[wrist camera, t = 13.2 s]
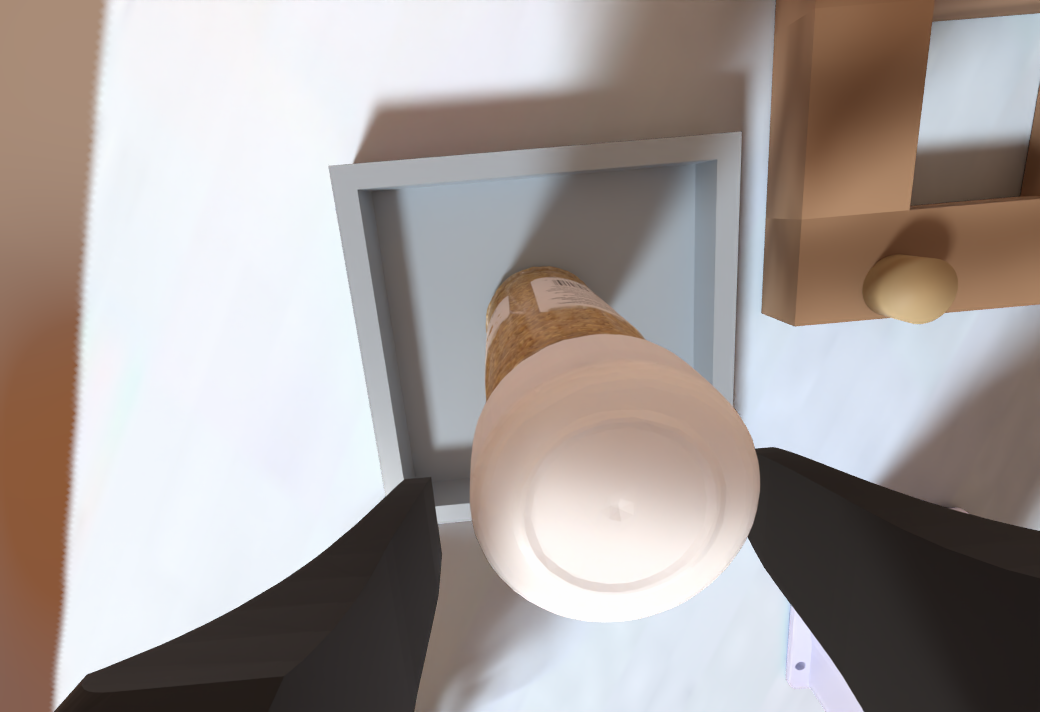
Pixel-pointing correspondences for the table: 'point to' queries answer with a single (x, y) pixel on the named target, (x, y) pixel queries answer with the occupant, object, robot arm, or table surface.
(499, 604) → the table surface
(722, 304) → the tray
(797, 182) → the socket block
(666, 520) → the sprinkles bottle
